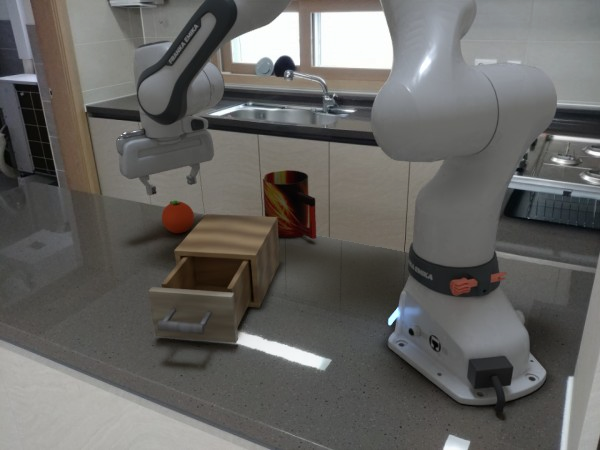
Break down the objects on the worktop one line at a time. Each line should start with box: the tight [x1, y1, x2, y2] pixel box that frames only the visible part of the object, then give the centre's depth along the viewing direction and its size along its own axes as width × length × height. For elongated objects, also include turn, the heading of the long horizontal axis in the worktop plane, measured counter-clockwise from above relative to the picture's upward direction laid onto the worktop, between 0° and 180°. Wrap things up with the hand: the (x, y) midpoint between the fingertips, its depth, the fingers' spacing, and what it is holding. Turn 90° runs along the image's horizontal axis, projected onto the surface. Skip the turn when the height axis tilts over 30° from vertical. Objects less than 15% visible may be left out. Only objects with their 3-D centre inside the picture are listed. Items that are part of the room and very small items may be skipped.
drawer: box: [148, 256, 253, 344], centre depth 83 cm, size 19×13×8 cm, turn 170°
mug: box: [262, 169, 317, 240], centre depth 115 cm, size 10×14×12 cm
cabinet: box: [173, 213, 281, 309], centre depth 95 cm, size 16×14×10 cm
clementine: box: [161, 200, 195, 234], centre depth 118 cm, size 8×7×7 cm
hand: (172, 188), depth 115 cm, fingers open, 8 cm apart
